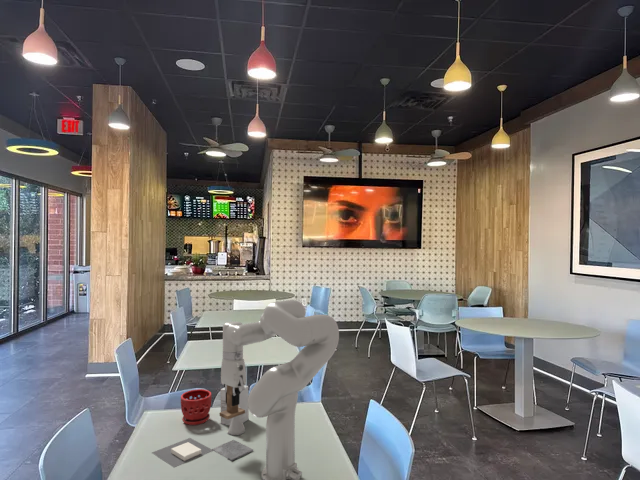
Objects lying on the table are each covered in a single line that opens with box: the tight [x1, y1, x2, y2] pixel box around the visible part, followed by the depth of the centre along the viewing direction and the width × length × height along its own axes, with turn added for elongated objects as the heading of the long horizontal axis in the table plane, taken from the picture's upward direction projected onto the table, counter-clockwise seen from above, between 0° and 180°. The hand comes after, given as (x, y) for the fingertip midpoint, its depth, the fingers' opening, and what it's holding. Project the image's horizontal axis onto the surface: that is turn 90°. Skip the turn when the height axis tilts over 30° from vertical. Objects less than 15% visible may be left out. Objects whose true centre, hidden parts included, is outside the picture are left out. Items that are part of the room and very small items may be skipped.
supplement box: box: [220, 385, 250, 426], centre depth 182 cm, size 9×9×15 cm
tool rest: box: [212, 439, 254, 462], centre depth 156 cm, size 12×10×1 cm
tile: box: [171, 442, 201, 461], centre depth 153 cm, size 2×7×9 cm
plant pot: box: [180, 388, 213, 426], centre depth 183 cm, size 13×13×12 cm
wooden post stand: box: [219, 385, 245, 419], centre depth 156 cm, size 5×8×15 cm, turn 139°
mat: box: [151, 437, 215, 468], centre depth 154 cm, size 16×16×1 cm
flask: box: [227, 407, 246, 436], centre depth 172 cm, size 7×7×10 cm
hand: (232, 403), depth 156 cm, fingers closed on wooden post stand, 3 cm apart
